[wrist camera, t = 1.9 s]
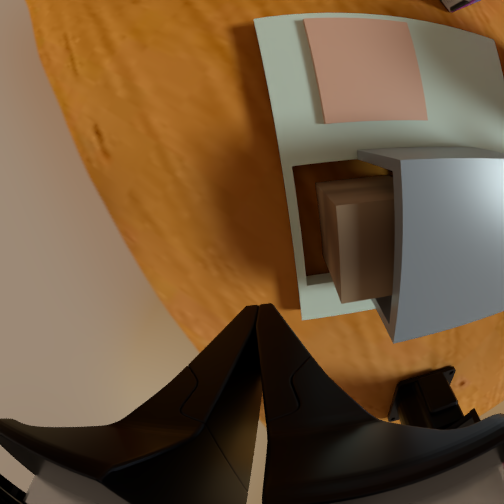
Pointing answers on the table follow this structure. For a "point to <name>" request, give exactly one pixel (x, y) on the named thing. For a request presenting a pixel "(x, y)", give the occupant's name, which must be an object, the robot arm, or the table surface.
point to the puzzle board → (372, 102)
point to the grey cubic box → (443, 238)
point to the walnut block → (358, 235)
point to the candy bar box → (457, 4)
